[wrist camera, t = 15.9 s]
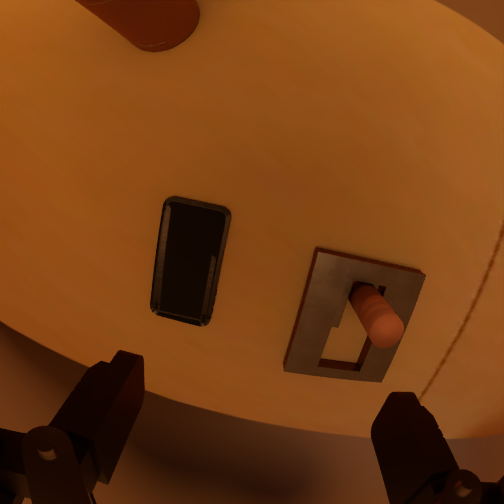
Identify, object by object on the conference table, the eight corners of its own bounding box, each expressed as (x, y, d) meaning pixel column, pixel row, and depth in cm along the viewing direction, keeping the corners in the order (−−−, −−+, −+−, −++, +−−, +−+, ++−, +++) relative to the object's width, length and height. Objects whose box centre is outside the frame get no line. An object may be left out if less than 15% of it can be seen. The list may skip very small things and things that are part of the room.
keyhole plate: (315, 247, 36) (318, 251, 34) (419, 269, 36) (425, 275, 34) (283, 362, 40) (283, 371, 38) (377, 374, 40) (381, 382, 38)
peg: (352, 276, 36) (377, 313, 27) (377, 281, 36) (409, 318, 27) (343, 303, 37) (365, 346, 28) (369, 307, 37) (396, 349, 28)
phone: (149, 313, 38) (164, 195, 34) (152, 309, 39) (167, 194, 35) (209, 328, 38) (233, 209, 34) (210, 324, 39) (234, 208, 35)
